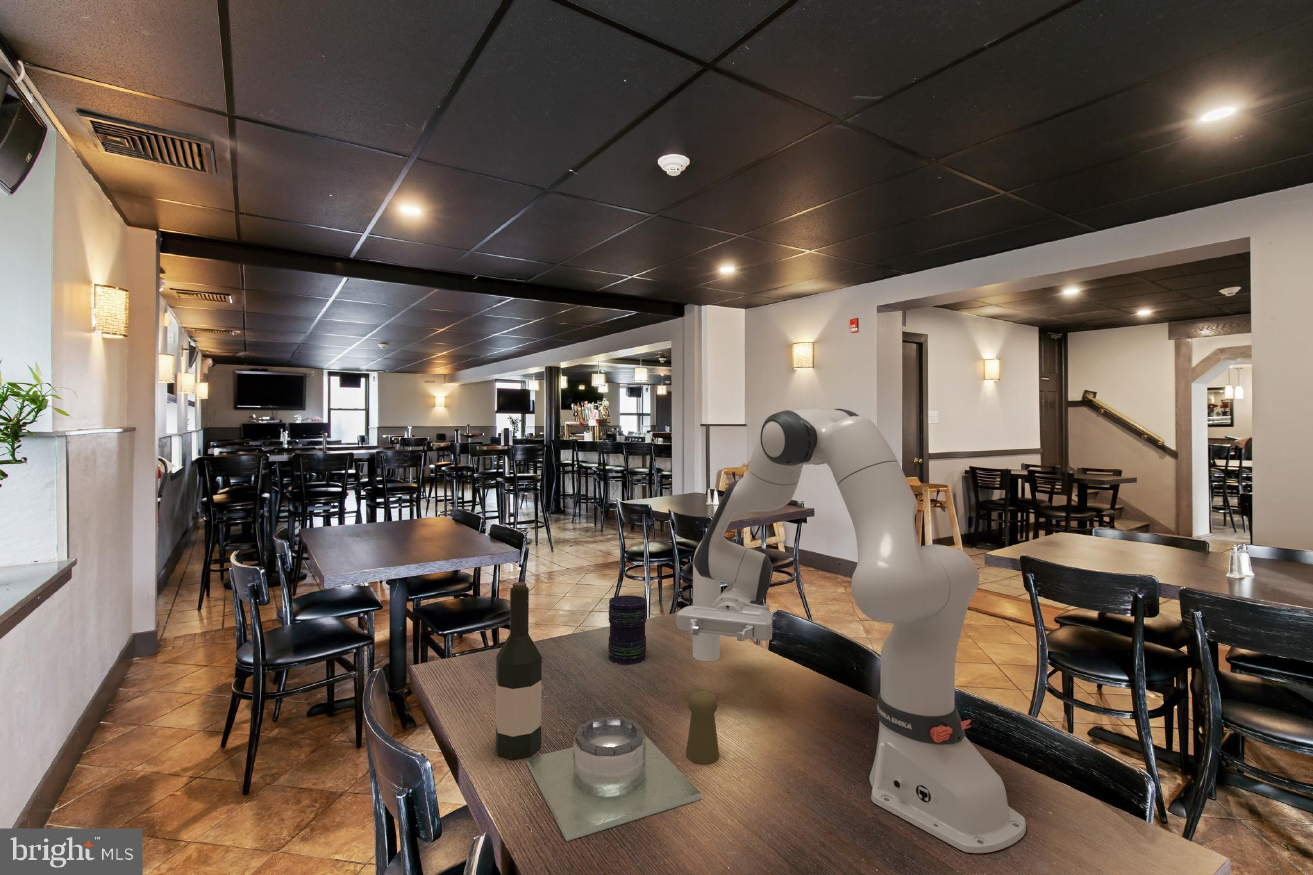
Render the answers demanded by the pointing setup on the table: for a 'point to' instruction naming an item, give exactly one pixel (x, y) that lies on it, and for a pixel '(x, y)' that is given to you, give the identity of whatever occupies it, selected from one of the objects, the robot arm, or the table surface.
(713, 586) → the cylindrical container
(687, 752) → the cork
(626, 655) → the storage jar
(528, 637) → the wine bottle
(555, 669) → the table surface
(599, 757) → the duct stub
